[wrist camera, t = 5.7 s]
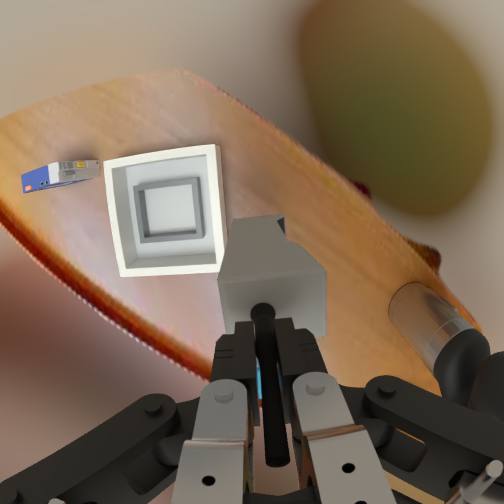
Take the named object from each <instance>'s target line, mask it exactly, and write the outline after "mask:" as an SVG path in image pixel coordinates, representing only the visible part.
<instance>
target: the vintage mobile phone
mask: <svg viewBox="0 0 504 504" xmlns="http://www.w3.org/2000/svg"><path fill="white" fill-rule="evenodd" d="M217 280H218V287H219V293H220V299H221V305H222V311H223V317H224V323H225V329H226V334H234V330H235V322H238V321H253V322H254V334H255V348H256V357H257V360H258V363H259V366H260V379H261V395H262V411H263V427H264V442H265V459H266V464H267V465H268V466H270V467H283V466H286V465H287V464H288V463H289V462H290V456H289V448H288V441H287V433H286V426H285V419H284V412H283V405H282V398H281V391H280V384H279V377H278V370H277V352H276V344H275V338H274V327H273V319H278V318H289V317H292V320H293V324H294V327H295V329H301V328H306V329H308V330H309V331H310V332H311V333H313V334H314V337H315V338H318V337H325V336H326V271H325V269H324V268H323V267H322V266H321V265H320V264H319V263H318V262H317V261H316V260H315V259H314V258H313V257H312V256H311V255H310V254H309V253H308V252H307V251H306V250H305V249H304V248H303V247H302V246H300V245H299V244H297V243H294V242H291V241H288V240H287V238H286V229H285V217H284V215H283V214H280V215H270V216H260V217H250V218H241V219H233V223H232V226H231V230H230V234H229V237H228V241H227V245H226V248H225V252H224V256H223V260H222V264H221V267H220V271H219V275H218V279H217Z"/></svg>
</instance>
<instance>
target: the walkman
mask: <svg viewBox="0 0 504 504" xmlns="http://www.w3.org/2000/svg"><path fill="white" fill-rule="evenodd" d="M99 168H100V163H99V160H80V161H60V162H55V163H52V164H49V165H46V166H44V167H41V168H38V169H36V170H33V171H30V172H28V173H25V174H23V175H21V177H22V186H23V193H28V192H33V191H38V190H43V189H49V188H54V187H60V186H65V185H69V184H73V183H76V182H80V181H84V180H88V179H92V178H95V177H99V176H100V172H99Z"/></svg>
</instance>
